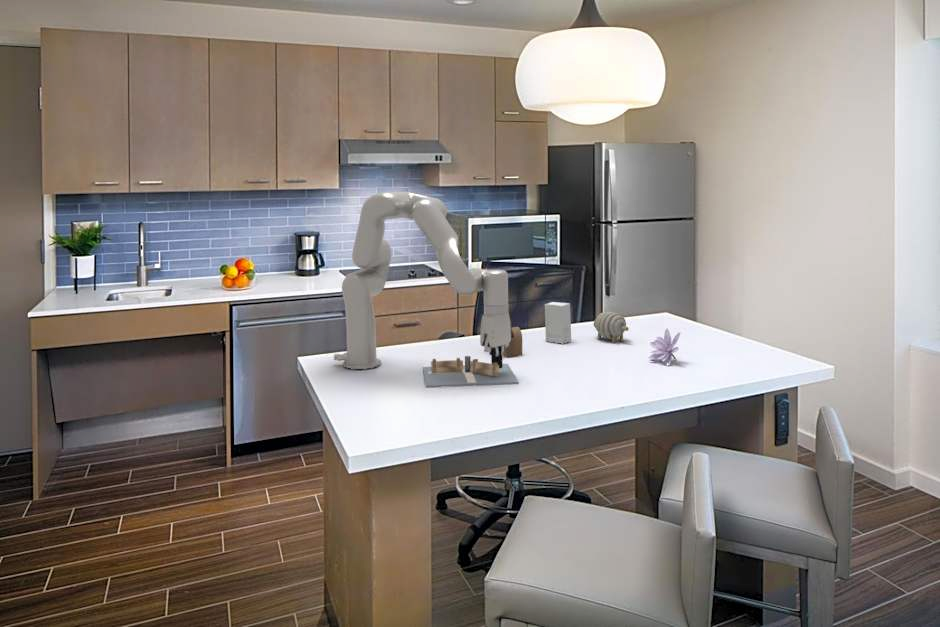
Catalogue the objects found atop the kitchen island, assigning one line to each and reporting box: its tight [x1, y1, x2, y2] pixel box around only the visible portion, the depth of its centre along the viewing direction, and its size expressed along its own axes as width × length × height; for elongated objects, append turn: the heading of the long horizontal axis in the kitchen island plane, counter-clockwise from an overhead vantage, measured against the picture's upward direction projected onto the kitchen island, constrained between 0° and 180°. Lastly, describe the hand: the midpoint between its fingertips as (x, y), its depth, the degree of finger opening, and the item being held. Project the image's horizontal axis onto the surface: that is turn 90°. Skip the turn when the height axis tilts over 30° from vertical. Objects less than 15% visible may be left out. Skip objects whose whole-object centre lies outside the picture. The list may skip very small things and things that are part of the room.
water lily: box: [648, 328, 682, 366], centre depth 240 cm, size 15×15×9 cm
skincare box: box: [544, 301, 572, 345], centre depth 270 cm, size 8×6×15 cm
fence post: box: [464, 355, 472, 372], centre depth 228 cm, size 2×2×6 cm
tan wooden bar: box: [471, 358, 499, 377], centre depth 224 cm, size 10×1×4 cm, turn 53°
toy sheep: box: [593, 311, 630, 343], centre depth 272 cm, size 11×17×11 cm, turn 39°
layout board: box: [422, 363, 520, 388], centre depth 226 cm, size 28×22×1 cm
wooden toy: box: [494, 303, 523, 358], centre depth 254 cm, size 16×7×25 cm, turn 24°
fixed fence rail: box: [430, 357, 464, 372], centre depth 228 cm, size 10×1×4 cm, turn 96°
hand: (497, 367), depth 225 cm, fingers closed
